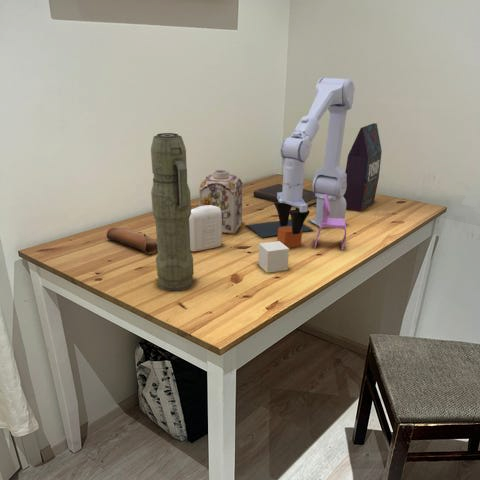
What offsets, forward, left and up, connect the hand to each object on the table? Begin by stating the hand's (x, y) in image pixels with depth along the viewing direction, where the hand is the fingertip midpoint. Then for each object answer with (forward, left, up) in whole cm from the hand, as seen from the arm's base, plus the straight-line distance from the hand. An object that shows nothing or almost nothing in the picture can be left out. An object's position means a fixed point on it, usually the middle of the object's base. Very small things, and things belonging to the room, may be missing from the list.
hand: (289, 229), depth 143 cm
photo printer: (+24, -7, -5) cm, 25 cm away
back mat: (-4, -14, -5) cm, 15 cm away
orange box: (0, 0, -5) cm, 5 cm away
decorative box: (-44, -27, -5) cm, 52 cm away
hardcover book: (-24, -44, -5) cm, 50 cm away
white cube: (+12, +13, -5) cm, 18 cm away
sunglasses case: (+42, -17, -5) cm, 46 cm away
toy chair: (-11, +5, -5) cm, 13 cm away
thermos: (+39, +13, -5) cm, 41 cm away
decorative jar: (+13, -22, -5) cm, 26 cm away
